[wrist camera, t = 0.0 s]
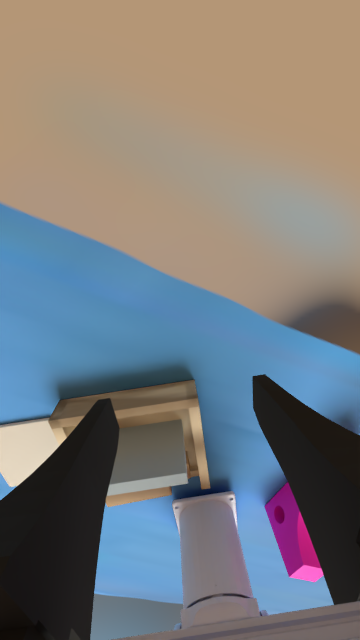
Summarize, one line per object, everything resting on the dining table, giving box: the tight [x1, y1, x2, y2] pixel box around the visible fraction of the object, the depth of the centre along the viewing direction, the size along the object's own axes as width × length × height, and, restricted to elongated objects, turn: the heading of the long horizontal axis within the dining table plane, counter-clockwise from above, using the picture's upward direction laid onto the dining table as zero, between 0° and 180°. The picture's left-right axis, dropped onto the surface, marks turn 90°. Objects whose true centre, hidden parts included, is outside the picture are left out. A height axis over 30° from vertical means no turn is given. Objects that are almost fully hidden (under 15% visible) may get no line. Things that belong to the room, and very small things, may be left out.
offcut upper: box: [106, 486, 172, 507], centre depth 26 cm, size 2×7×2 cm, turn 101°
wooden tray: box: [48, 380, 210, 489], centre depth 26 cm, size 13×14×3 cm
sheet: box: [107, 419, 188, 496], centre depth 24 cm, size 1×10×6 cm, turn 98°
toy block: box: [265, 482, 324, 582], centre depth 29 cm, size 15×6×8 cm, turn 153°
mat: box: [0, 418, 59, 487], centre depth 27 cm, size 9×8×1 cm
